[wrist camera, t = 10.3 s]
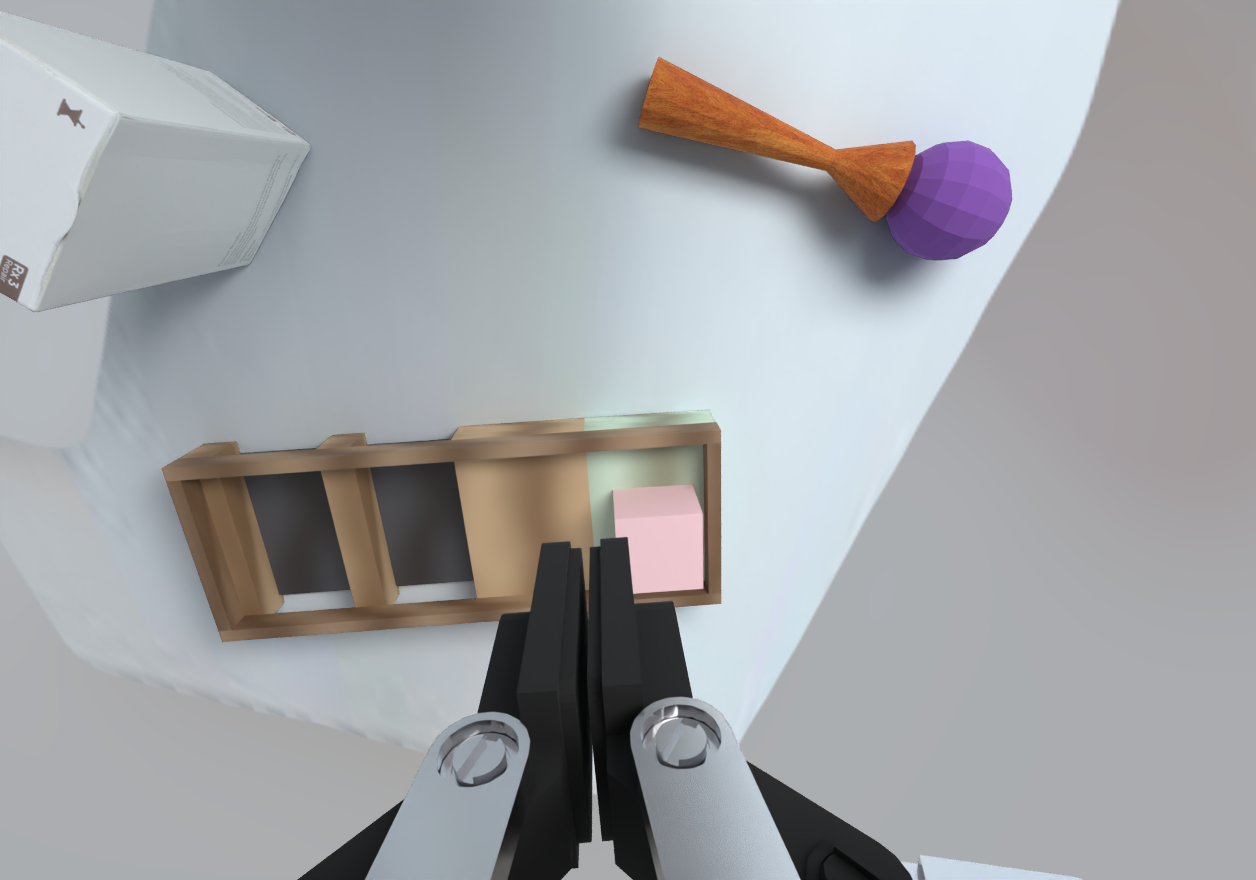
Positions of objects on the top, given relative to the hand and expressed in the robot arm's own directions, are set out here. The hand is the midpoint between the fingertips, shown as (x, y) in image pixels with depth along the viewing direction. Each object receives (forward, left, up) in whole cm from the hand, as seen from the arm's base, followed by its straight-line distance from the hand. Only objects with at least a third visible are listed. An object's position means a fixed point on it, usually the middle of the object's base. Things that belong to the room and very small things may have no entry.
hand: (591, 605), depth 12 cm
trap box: (+11, -9, -27) cm, 31 cm away
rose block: (+12, +3, -25) cm, 27 cm away
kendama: (-9, +13, -28) cm, 32 cm away
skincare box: (-10, -19, -27) cm, 35 cm away
